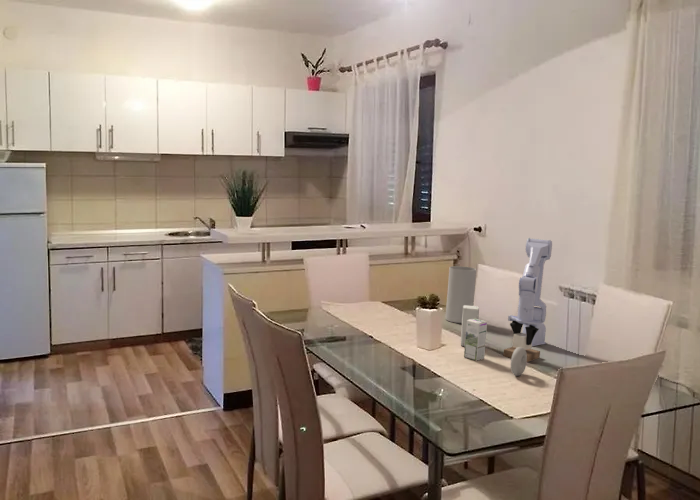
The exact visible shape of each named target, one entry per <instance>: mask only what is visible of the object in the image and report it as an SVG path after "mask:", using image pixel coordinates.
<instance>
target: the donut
mask: <svg viewBox="0 0 700 500" xmlns="http://www.w3.org/2000/svg"><path fill="white" fill-rule="evenodd" d="M527 363H528V362H527V353H526V350H525V349H524V348H522V347H518V348H516V349H515V350H514V352H513V354H512V358H510V370H511V373H512V374H513V375H514V376H517V377H519V376H521V375H523V373H524V372H525V370H526V366H527Z"/></svg>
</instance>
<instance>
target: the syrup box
mask: <svg viewBox="0 0 700 500" xmlns="http://www.w3.org/2000/svg"><path fill="white" fill-rule="evenodd" d="M487 330H488V321H487V320H482V319H469V320H467V324H466V337H465V346H464V352H463V353H464V354H463V357H464V358H466V359H469V360H472V361H475V360H478V361H481V360H484V359H485V355H486V354H485V353H486V341H487V340H486V339H487ZM480 359H481V360H480Z"/></svg>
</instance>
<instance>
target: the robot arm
mask: <svg viewBox="0 0 700 500" xmlns="http://www.w3.org/2000/svg"><path fill="white" fill-rule="evenodd" d="M552 249H553V241H552V240H551V239H539V238H531V237H529V238H527V239H526V242H525V253H526V256H527V258H528V259H529V261H528V263H526V264H525V265H524V269H523V273H522V276H521V277H520V278H519V280H518V281H519V282H518V297H519V298H518V307H517V315H513V314H511V315H508V316H507V317H508V318H507V321H508V322H510V323H509V326H510V327H511V330H512V335H514V334H517V333H525V334H526V335H527V337H526V345H531V343H532V346H531V347H534V346H540V345H547V342H546V341H545V340H546V330H547V329H546V325H545V322H546V317H547V305H546V303H545V302H544V301H543V300H542V299H541V294H542V287H543V286H542V284H543V279H544V278H543V276H544V266H545V262H547V261H548V260H549V261H550V260H551V256H552Z"/></svg>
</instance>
